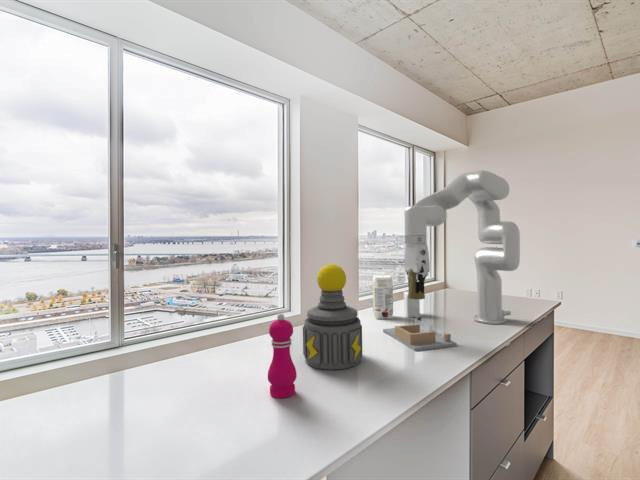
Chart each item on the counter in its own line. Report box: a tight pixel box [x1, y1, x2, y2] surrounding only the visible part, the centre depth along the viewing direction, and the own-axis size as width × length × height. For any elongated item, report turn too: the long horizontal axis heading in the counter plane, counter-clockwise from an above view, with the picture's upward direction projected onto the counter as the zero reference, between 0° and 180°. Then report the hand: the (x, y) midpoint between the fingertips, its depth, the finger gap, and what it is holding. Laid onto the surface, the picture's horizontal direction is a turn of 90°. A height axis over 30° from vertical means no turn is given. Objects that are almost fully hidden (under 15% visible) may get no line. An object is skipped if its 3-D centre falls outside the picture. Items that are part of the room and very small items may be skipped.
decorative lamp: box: [302, 263, 363, 371], centre depth 113 cm, size 19×19×30 cm
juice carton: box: [372, 274, 394, 320], centre depth 166 cm, size 8×9×19 cm
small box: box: [403, 291, 421, 318], centre depth 169 cm, size 8×6×10 cm
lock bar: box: [415, 315, 434, 332], centre depth 142 cm, size 2×10×4 cm, turn 15°
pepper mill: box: [267, 313, 297, 399], centre depth 91 cm, size 7×7×20 cm
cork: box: [407, 269, 426, 300], centre depth 130 cm, size 6×6×11 cm
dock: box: [382, 323, 457, 352], centre depth 134 cm, size 16×24×4 cm, turn 16°
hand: (416, 291), depth 130 cm, fingers closed on cork, 4 cm apart
